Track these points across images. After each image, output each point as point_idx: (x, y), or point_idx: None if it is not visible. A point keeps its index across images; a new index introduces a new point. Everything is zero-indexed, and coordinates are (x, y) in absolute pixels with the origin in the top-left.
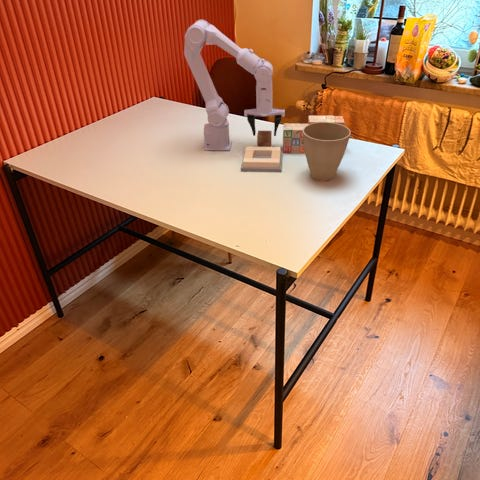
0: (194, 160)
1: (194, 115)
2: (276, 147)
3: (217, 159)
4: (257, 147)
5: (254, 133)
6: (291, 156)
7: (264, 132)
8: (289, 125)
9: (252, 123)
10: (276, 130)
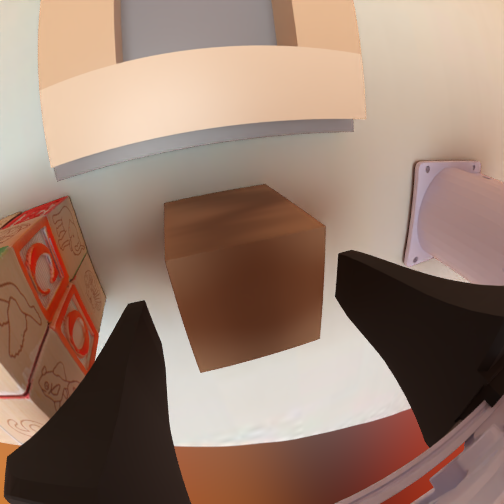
0: (486, 76)
1: None
2: (84, 142)
3: (439, 67)
4: (275, 100)
5: (358, 258)
6: (7, 162)
7: (260, 325)
8: (3, 417)
9: (467, 298)
10: (106, 343)
